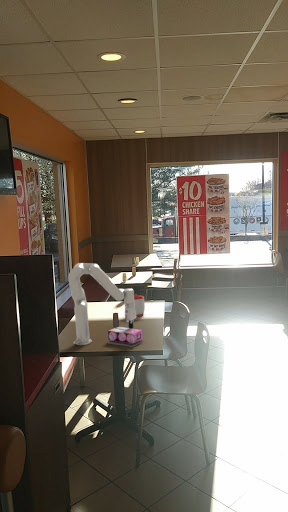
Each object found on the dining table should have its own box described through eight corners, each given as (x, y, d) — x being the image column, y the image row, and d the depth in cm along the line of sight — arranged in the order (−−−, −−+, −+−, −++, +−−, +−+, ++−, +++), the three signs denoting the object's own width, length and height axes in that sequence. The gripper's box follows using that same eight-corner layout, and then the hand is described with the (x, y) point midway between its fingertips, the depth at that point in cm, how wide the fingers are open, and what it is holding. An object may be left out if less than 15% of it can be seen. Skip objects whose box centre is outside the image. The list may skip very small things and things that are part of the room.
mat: (133, 347, 311) (133, 346, 311) (107, 343, 322) (107, 342, 322) (143, 340, 324) (143, 340, 324) (118, 337, 335) (118, 336, 335)
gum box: (144, 330, 323) (133, 333, 311) (144, 340, 323) (134, 344, 312) (118, 326, 336) (107, 330, 324) (118, 336, 336) (108, 340, 325)
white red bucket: (144, 311, 405) (142, 291, 402) (146, 316, 388) (145, 295, 385) (127, 313, 403) (126, 292, 400) (129, 318, 386) (127, 296, 383)
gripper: (128, 307, 319) (130, 331, 321) (138, 302, 332) (140, 325, 334) (120, 306, 322) (121, 330, 325) (130, 302, 335) (131, 324, 338)
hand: (131, 328), depth 330 cm, fingers closed
